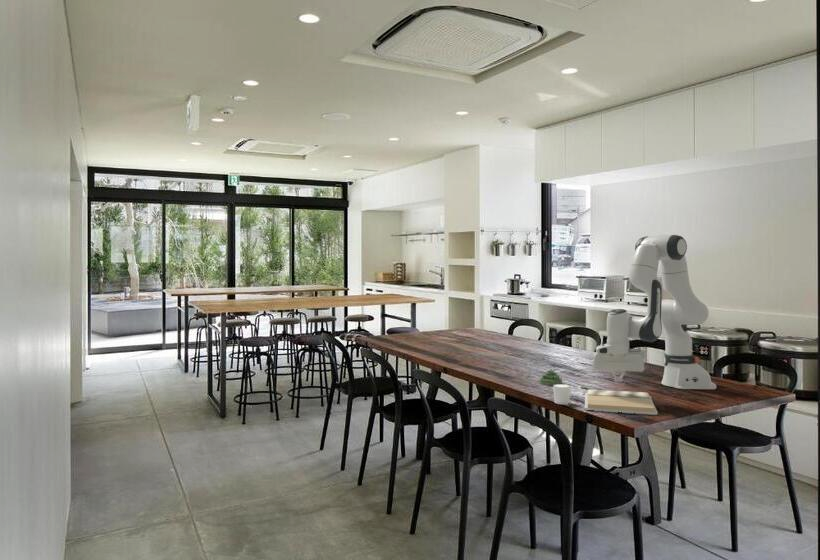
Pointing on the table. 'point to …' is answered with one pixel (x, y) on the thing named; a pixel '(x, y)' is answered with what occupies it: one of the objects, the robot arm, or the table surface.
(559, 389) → the white cylinder
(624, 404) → the cream square board
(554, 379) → the decorative artifact
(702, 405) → the table surface
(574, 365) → the table surface
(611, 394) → the tilted plank
